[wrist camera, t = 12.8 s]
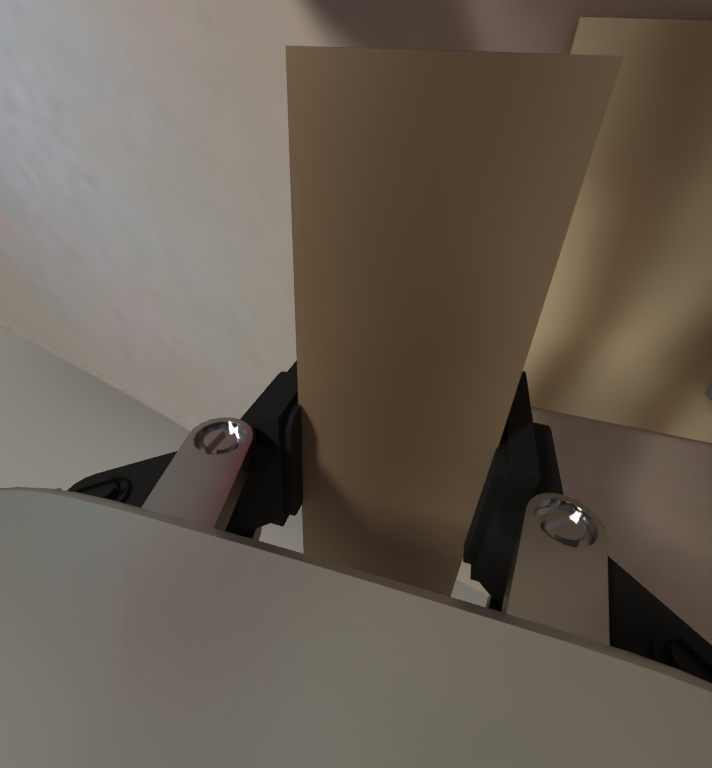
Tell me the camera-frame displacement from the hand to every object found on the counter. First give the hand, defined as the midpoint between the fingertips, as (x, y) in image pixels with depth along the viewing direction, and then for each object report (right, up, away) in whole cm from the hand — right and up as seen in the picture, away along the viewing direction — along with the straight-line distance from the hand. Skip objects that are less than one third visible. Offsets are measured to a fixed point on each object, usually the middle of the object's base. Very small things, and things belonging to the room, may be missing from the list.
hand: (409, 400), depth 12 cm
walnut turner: (0, +1, +1) cm, 1 cm away
